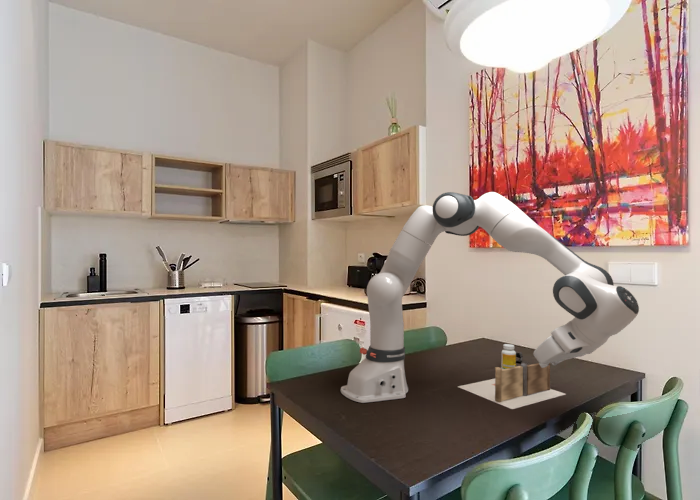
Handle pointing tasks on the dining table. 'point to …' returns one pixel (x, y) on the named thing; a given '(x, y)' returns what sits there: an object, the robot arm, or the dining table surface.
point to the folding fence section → (508, 383)
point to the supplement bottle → (508, 356)
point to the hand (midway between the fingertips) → (547, 364)
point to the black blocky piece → (519, 355)
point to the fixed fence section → (535, 378)
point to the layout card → (488, 392)
